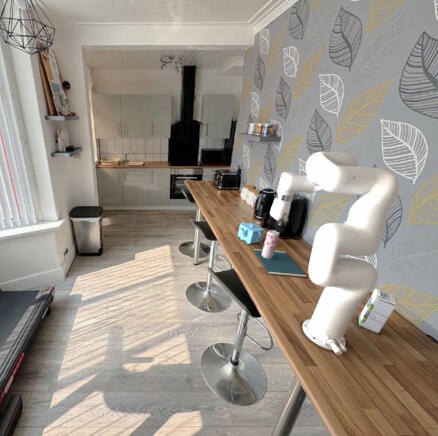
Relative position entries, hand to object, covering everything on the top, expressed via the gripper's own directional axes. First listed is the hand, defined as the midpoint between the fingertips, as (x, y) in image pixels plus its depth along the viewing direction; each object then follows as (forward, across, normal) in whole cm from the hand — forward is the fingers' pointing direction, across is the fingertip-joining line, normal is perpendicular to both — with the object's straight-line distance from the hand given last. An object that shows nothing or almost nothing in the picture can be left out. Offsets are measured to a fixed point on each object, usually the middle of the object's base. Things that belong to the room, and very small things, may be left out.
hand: (275, 228), depth 124 cm
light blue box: (+18, -19, -5) cm, 26 cm away
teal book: (+18, +4, +4) cm, 19 cm away
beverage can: (+18, -1, 0) cm, 18 cm away
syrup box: (+19, +44, +21) cm, 52 cm away
